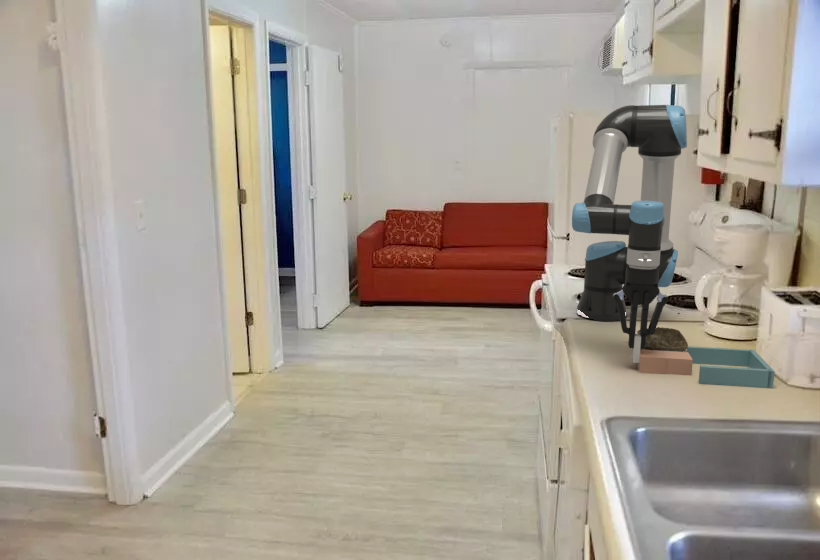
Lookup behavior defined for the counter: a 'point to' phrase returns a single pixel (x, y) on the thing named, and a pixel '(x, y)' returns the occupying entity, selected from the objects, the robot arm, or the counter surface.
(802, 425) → the counter surface
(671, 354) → the tile
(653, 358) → the tile
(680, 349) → the stone
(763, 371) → the tray
